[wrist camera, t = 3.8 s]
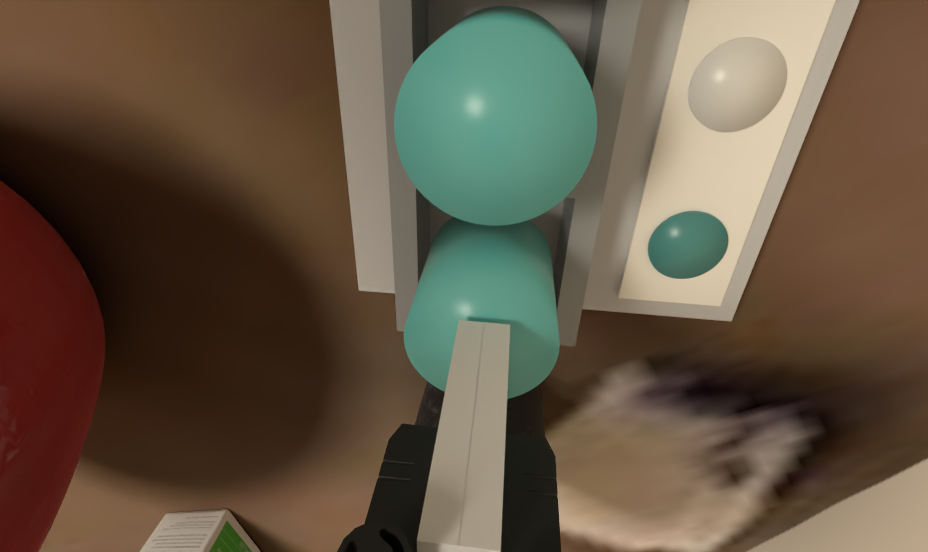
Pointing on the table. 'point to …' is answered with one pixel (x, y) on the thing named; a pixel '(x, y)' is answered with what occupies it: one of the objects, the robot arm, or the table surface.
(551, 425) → the table surface
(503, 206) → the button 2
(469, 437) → the robot arm
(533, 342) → the button
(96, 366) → the mixing bowl
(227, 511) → the skincare box
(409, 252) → the button panel
